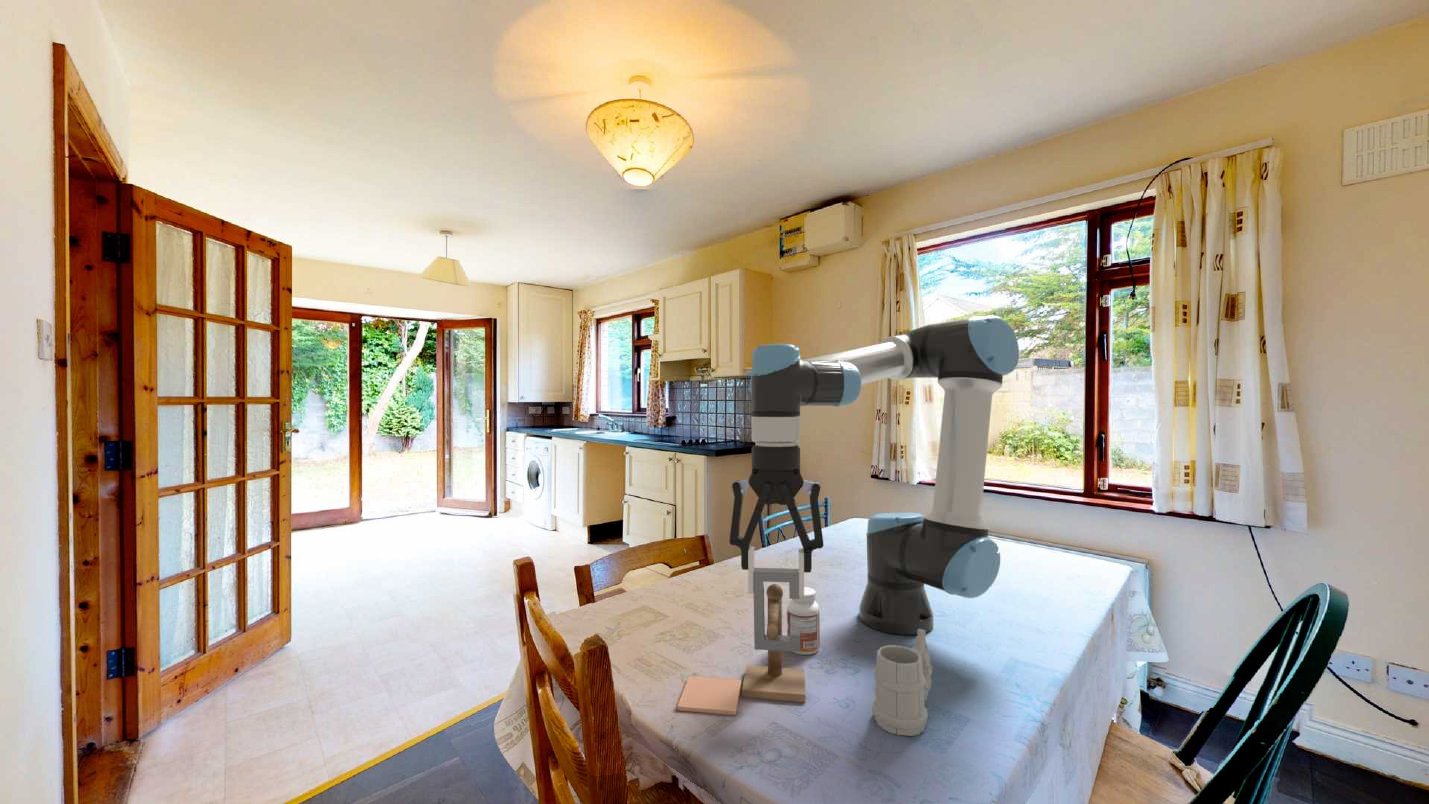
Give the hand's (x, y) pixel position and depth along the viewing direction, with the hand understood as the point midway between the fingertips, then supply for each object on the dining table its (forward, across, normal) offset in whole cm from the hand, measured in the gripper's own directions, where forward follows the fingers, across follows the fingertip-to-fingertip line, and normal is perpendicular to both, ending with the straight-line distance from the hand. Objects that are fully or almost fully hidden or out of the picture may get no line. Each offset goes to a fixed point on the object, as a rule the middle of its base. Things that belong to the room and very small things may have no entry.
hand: (776, 591), depth 81 cm
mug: (+18, -20, 0) cm, 27 cm away
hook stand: (+18, 0, -2) cm, 18 cm away
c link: (+9, 0, 0) cm, 9 cm away
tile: (+18, +10, -1) cm, 21 cm away
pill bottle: (+18, -4, -20) cm, 27 cm away
